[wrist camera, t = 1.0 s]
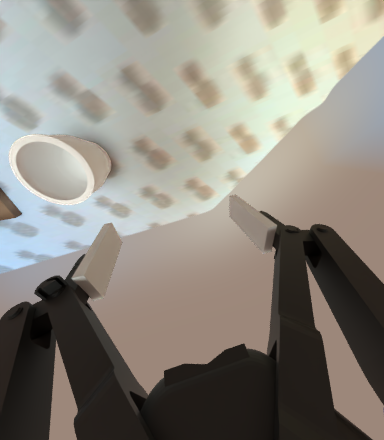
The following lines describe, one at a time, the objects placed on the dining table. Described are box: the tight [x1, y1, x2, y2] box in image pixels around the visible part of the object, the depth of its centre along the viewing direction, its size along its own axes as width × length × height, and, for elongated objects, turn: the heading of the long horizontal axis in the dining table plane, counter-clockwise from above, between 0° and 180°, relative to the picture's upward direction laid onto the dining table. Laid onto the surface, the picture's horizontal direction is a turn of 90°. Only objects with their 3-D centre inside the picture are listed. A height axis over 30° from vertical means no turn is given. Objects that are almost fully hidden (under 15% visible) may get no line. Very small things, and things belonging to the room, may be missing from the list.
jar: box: [9, 134, 111, 205], centre depth 28 cm, size 11×10×15 cm
